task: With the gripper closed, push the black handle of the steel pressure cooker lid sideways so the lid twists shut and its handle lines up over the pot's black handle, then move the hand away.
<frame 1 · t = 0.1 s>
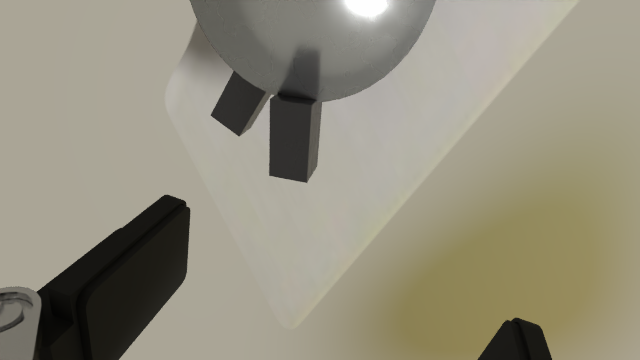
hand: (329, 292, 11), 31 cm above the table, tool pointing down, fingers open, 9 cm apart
cooker lid: (298, 19, 24), point 14 cm above the table, hinge at 30.0°
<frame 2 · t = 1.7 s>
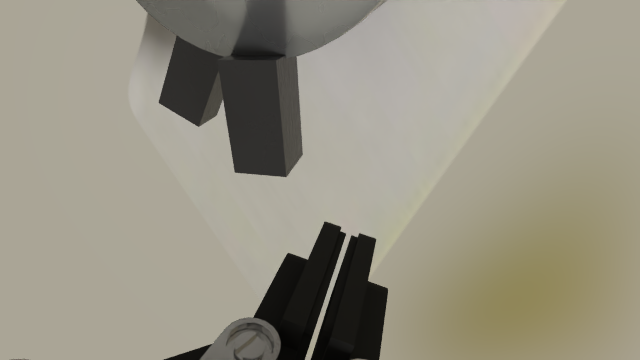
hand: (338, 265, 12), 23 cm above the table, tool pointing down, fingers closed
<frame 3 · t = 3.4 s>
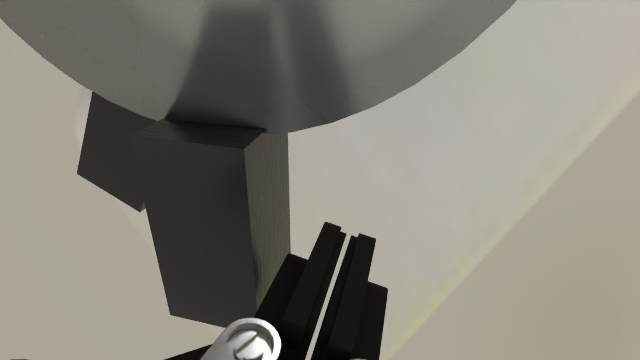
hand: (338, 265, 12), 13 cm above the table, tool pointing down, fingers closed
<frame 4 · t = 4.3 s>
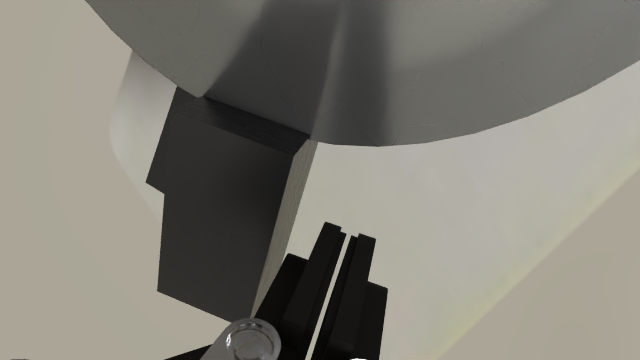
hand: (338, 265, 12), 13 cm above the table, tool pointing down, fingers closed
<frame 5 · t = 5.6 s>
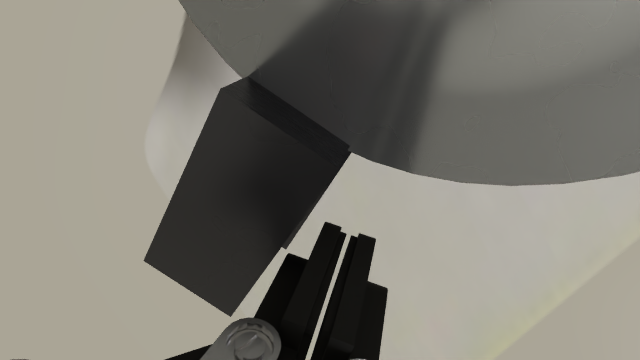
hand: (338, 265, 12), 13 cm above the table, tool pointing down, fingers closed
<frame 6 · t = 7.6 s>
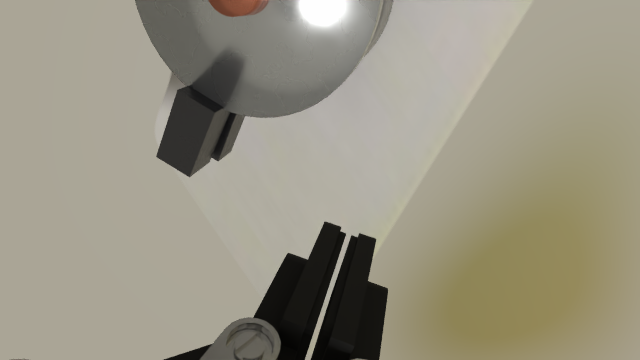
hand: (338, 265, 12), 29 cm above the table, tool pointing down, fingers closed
cooker lid: (228, 30, 24), point 14 cm above the table, hinge at -1.9°
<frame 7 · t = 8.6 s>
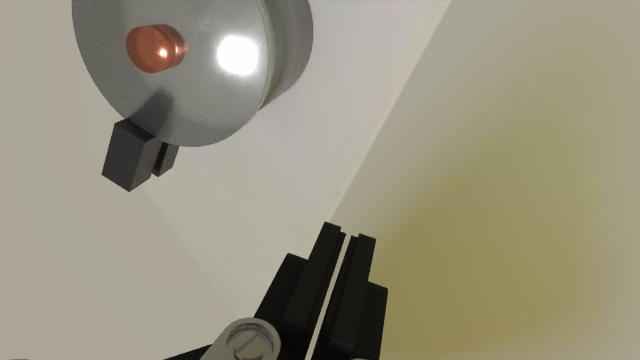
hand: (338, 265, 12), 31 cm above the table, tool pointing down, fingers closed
cooker pot: (242, 29, 41), on the table
cooker lid: (153, 78, 30), point 14 cm above the table, hinge at -1.9°
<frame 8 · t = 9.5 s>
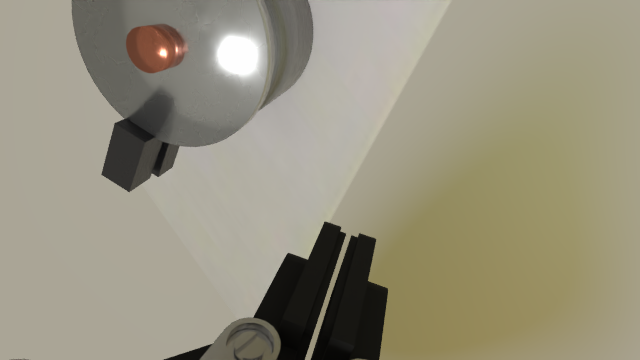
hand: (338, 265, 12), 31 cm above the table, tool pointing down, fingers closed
cooker pot: (242, 29, 41), on the table
cooker lid: (153, 78, 30), point 14 cm above the table, hinge at -1.9°
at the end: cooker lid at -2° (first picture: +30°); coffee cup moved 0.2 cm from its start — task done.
